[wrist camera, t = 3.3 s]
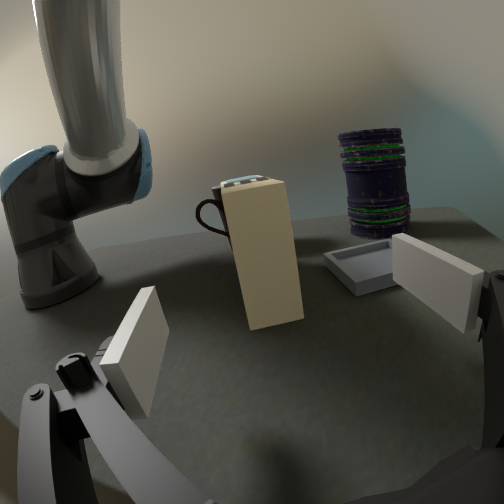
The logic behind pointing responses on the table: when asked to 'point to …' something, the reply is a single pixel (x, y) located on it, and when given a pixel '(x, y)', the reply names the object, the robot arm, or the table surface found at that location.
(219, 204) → the coffee mug
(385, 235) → the storage jar
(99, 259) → the table surface
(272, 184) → the cream rectangular block
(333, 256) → the tray
